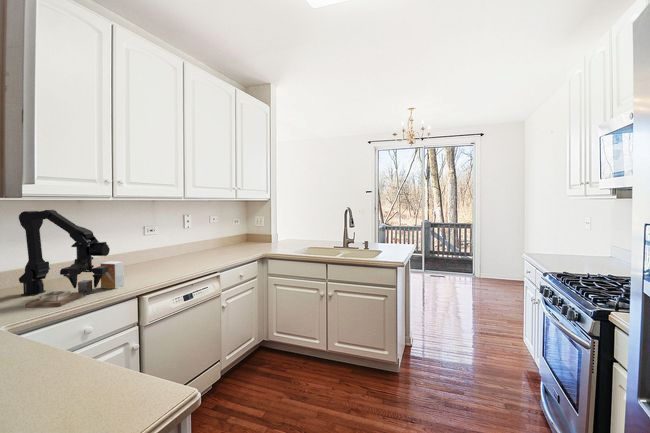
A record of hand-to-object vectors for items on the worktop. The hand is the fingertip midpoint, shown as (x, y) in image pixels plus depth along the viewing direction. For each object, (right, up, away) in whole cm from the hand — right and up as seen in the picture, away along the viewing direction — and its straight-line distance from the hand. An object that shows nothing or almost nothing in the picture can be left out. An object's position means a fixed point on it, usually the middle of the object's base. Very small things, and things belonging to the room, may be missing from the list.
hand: (85, 287), depth 151 cm
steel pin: (0, -3, 0) cm, 3 cm away
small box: (+6, -2, +11) cm, 13 cm away
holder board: (-4, -3, -12) cm, 13 cm away
